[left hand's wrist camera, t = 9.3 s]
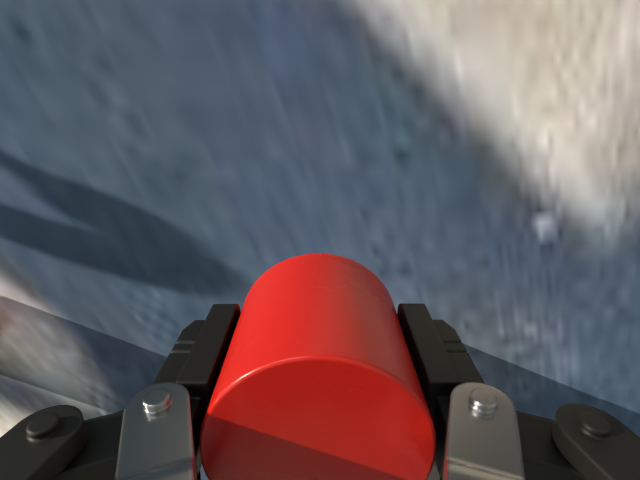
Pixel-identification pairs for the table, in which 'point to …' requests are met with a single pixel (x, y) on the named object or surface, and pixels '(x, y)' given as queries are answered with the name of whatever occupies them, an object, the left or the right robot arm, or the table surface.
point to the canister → (318, 383)
